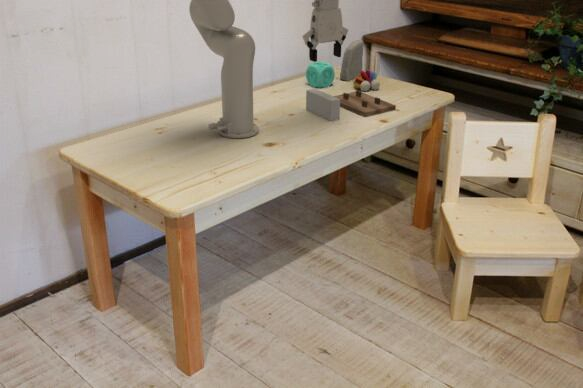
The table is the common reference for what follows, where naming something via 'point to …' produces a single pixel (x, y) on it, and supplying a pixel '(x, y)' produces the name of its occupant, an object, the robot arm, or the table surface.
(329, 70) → the decorative dice
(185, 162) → the table surface
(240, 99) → the robot arm
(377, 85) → the rainbow petal toy
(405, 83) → the table surface
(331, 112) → the gray rectangular block
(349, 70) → the decorative stone
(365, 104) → the brown board
